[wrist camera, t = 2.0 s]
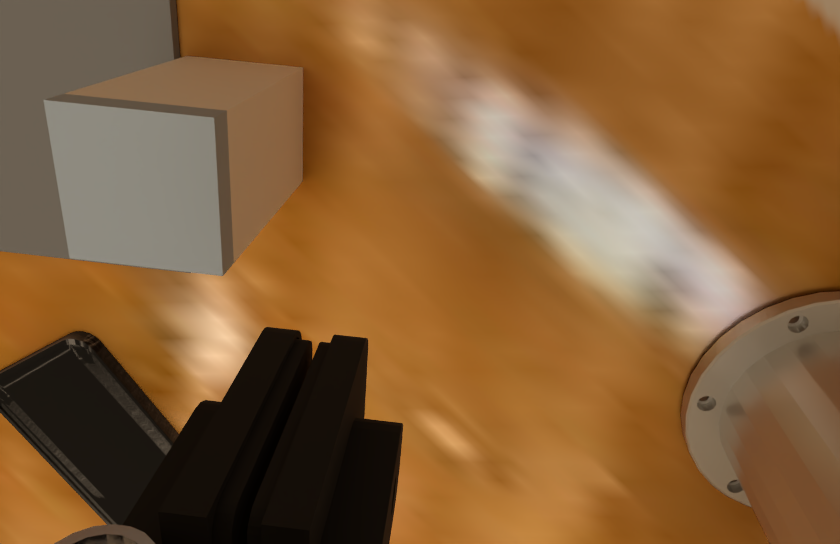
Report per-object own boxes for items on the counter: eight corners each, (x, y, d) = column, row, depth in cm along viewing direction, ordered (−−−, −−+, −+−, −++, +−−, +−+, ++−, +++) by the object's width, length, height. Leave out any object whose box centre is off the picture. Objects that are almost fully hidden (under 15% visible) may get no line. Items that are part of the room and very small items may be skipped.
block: (303, 67, 27) (213, 117, 18) (302, 181, 30) (222, 275, 21) (187, 55, 28) (43, 99, 19) (194, 169, 30) (69, 258, 21)
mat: (170, -78, 26) (163, -79, 25) (195, 267, 32) (190, 273, 31) (-123, -105, 26) (-136, -106, 26) (-40, 240, 33) (-49, 245, 32)
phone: (78, 332, 33) (246, 530, 38) (90, 321, 34) (253, 516, 39) (-27, 387, 36) (146, 568, 41) (-12, 375, 37) (154, 553, 42)
